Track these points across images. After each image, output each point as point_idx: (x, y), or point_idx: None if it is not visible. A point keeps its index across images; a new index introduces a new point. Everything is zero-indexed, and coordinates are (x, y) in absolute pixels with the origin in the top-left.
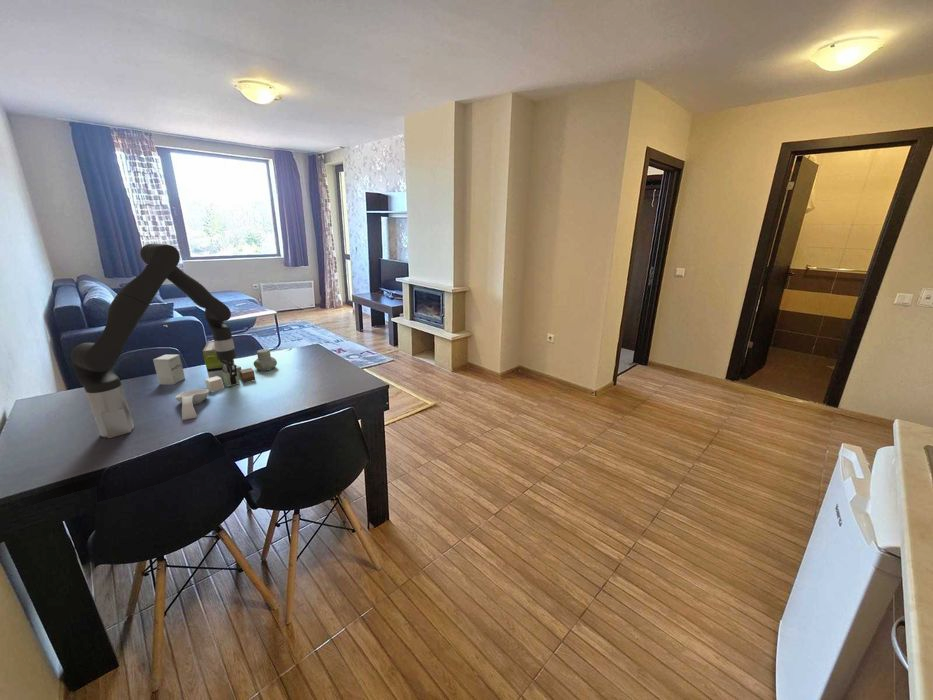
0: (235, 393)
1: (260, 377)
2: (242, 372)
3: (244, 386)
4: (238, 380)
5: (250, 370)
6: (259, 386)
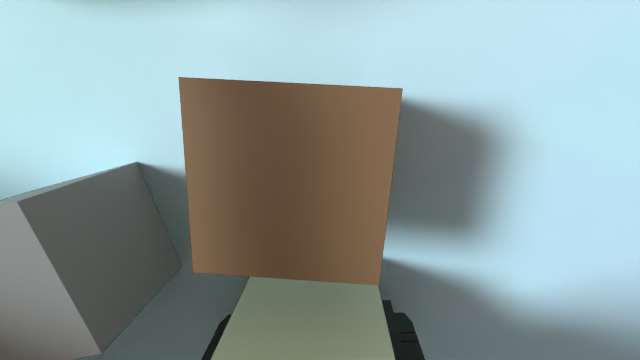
0: (580, 348)
1: (327, 8)
2: (346, 271)
3: (474, 243)
4: (377, 288)
5: (343, 136)
6: (624, 126)
